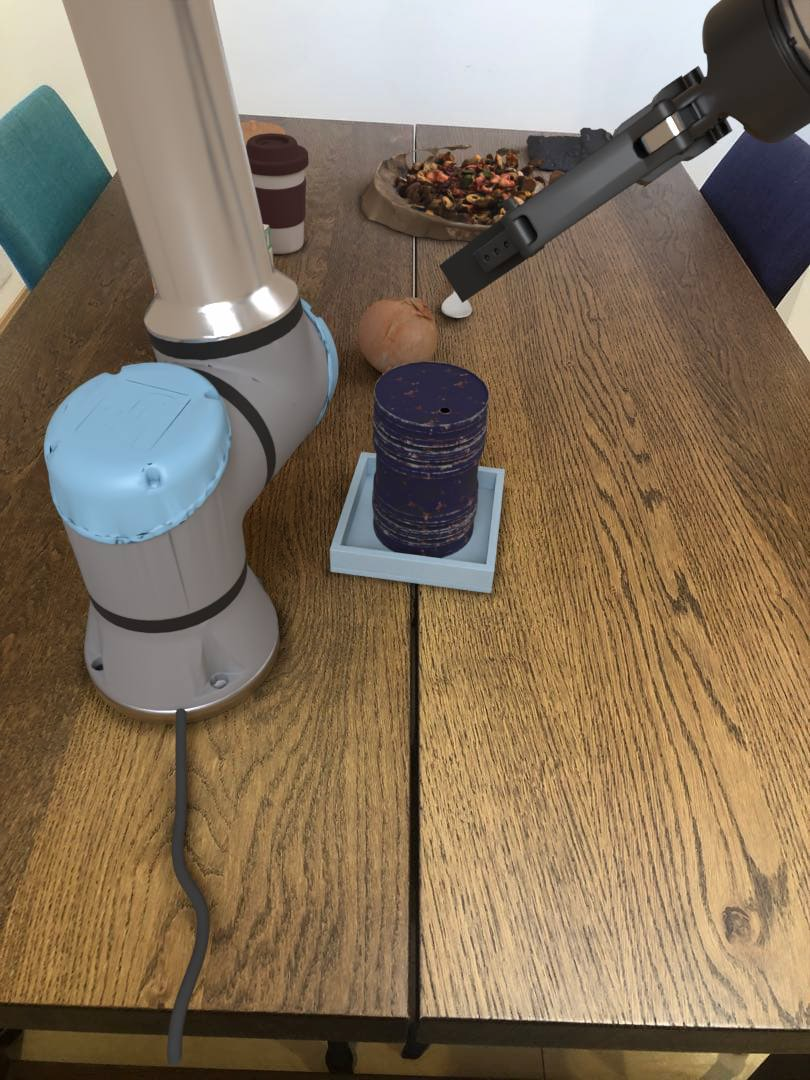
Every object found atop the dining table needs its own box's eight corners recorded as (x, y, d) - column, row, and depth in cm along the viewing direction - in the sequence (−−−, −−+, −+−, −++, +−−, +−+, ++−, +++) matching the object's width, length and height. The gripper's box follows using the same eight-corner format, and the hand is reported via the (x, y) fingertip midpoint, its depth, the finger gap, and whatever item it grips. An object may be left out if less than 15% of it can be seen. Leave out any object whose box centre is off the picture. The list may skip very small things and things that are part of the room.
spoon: (440, 326, 108) (441, 315, 106) (443, 258, 123) (443, 247, 121) (471, 328, 107) (472, 316, 106) (470, 259, 122) (471, 249, 121)
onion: (421, 381, 103) (460, 312, 98) (402, 403, 95) (444, 328, 90) (357, 342, 103) (393, 270, 98) (332, 360, 95) (370, 283, 90)
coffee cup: (320, 254, 122) (316, 148, 112) (255, 263, 119) (245, 155, 109) (301, 228, 129) (296, 126, 118) (239, 236, 126) (228, 132, 116)
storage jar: (358, 503, 80) (356, 370, 70) (450, 483, 83) (461, 352, 73) (392, 571, 73) (396, 436, 63) (491, 547, 76) (511, 413, 66)
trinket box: (216, 184, 141) (209, 126, 135) (243, 164, 148) (237, 107, 142) (273, 193, 139) (269, 134, 132) (297, 172, 146) (294, 115, 140)
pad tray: (490, 593, 73) (494, 571, 71) (330, 571, 74) (329, 549, 72) (501, 490, 83) (505, 468, 81) (361, 472, 85) (361, 451, 83)
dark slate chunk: (519, 144, 161) (522, 118, 158) (628, 145, 163) (633, 120, 160) (534, 172, 150) (538, 145, 147) (650, 173, 152) (656, 146, 149)
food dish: (563, 181, 150) (572, 137, 145) (570, 262, 126) (581, 212, 121) (375, 161, 151) (376, 116, 146) (347, 237, 127) (347, 187, 122)
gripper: (774, 167, 33) (437, 370, 49) (899, 52, 48) (610, 236, 64) (682, -10, 31) (366, 260, 47) (842, -71, 46) (561, 149, 63)
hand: (506, 247), depth 56 cm, fingers open, 13 cm apart
